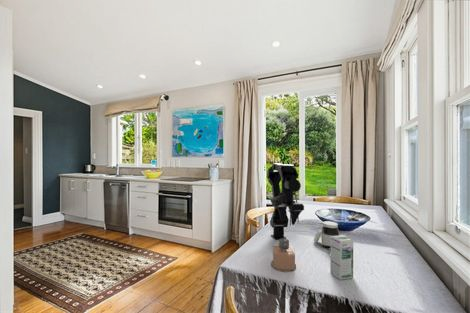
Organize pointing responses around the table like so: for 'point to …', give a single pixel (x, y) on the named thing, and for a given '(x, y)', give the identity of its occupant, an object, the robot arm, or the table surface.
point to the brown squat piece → (283, 259)
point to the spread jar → (327, 233)
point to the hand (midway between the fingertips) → (287, 222)
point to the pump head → (283, 244)
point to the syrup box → (341, 257)
